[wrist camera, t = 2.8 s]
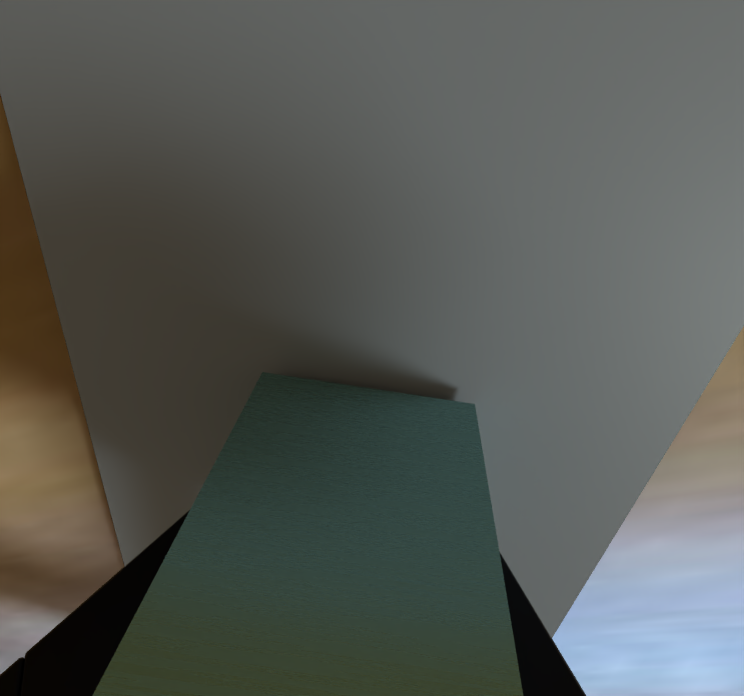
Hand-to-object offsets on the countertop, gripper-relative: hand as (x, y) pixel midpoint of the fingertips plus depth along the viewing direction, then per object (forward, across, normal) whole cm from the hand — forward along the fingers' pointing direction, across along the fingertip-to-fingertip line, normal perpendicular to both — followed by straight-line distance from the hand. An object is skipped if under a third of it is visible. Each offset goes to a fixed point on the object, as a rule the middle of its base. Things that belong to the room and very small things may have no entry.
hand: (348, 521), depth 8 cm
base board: (+2, 0, +1) cm, 3 cm away
